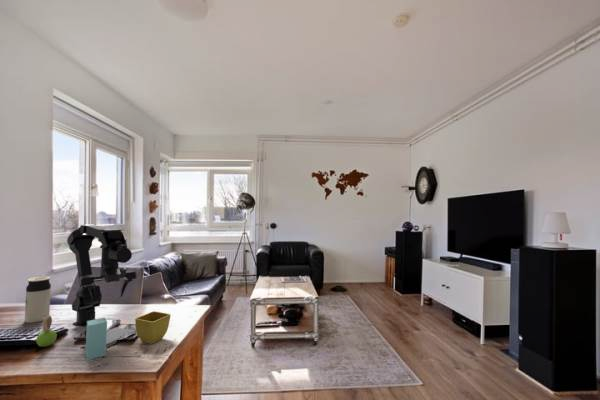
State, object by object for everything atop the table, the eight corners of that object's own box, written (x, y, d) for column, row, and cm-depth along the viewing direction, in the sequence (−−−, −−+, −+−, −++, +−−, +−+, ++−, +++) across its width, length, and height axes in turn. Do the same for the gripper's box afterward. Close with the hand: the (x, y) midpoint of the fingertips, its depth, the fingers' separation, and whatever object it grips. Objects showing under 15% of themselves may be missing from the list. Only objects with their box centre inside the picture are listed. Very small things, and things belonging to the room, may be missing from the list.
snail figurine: (32, 352, 97) (34, 316, 97) (38, 344, 102) (40, 310, 103) (52, 348, 99) (54, 313, 100) (58, 341, 105) (59, 308, 105)
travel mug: (51, 315, 130) (53, 275, 131) (45, 321, 123) (47, 279, 124) (29, 318, 127) (31, 277, 127) (21, 324, 119) (23, 281, 120)
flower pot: (170, 337, 109) (171, 313, 110) (152, 347, 101) (152, 322, 101) (152, 334, 112) (153, 310, 112) (133, 343, 104) (134, 318, 104)
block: (85, 354, 96) (87, 321, 96) (103, 349, 99) (104, 317, 100) (87, 360, 92) (88, 325, 93) (105, 355, 95) (107, 321, 96)
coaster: (85, 343, 103) (86, 340, 104) (115, 330, 115) (115, 327, 115) (107, 347, 101) (107, 343, 101) (135, 333, 112) (135, 330, 112)
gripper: (84, 265, 103) (82, 309, 102) (141, 260, 116) (139, 299, 115) (79, 261, 111) (77, 301, 110) (133, 256, 124) (131, 292, 123)
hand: (107, 298), depth 115 cm, fingers open, 9 cm apart
